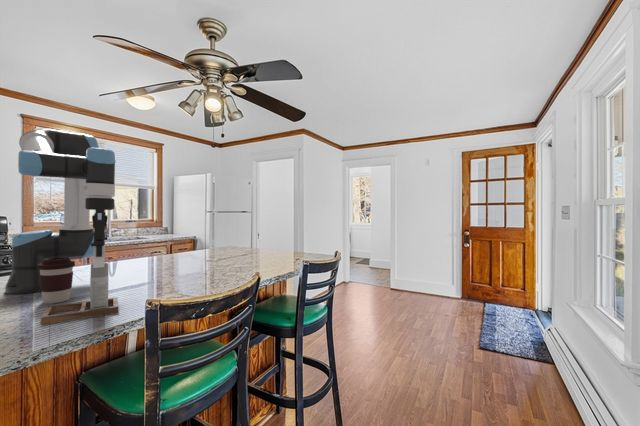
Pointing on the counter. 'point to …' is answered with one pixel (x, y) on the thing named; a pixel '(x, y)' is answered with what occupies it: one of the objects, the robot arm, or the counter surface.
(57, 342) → the counter surface
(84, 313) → the walnut divider frame
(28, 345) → the counter surface
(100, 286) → the container
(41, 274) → the coffee cup
